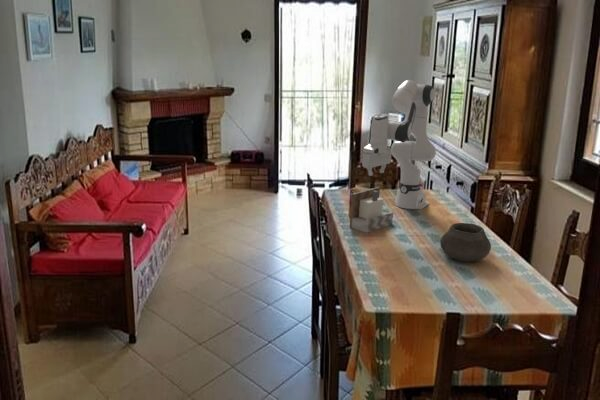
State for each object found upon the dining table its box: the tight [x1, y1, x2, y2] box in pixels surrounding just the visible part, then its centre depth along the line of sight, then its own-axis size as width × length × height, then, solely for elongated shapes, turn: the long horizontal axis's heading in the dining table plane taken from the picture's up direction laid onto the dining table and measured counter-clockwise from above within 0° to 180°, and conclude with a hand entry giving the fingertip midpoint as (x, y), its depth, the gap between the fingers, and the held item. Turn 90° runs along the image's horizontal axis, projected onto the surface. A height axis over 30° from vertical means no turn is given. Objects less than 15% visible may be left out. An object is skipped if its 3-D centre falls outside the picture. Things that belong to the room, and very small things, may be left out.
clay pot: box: [439, 222, 492, 263], centre depth 233 cm, size 22×21×15 cm
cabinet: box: [359, 191, 384, 219], centre depth 271 cm, size 12×6×14 cm, turn 134°
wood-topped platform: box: [349, 186, 394, 234], centre depth 271 cm, size 22×12×18 cm, turn 135°
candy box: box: [348, 187, 364, 216], centre depth 286 cm, size 9×4×15 cm, turn 39°
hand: (376, 174), depth 266 cm, fingers open, 8 cm apart
